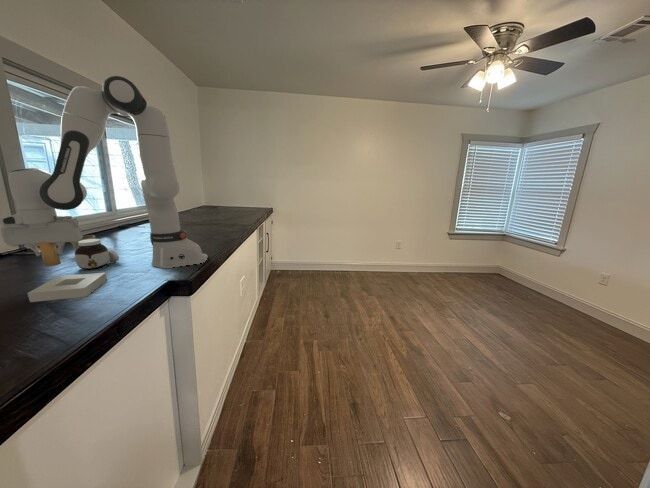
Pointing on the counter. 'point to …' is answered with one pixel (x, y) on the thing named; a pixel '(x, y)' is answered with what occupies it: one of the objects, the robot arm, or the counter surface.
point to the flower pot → (76, 245)
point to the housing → (67, 287)
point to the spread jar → (94, 255)
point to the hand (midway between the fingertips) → (50, 255)
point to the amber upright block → (49, 254)
